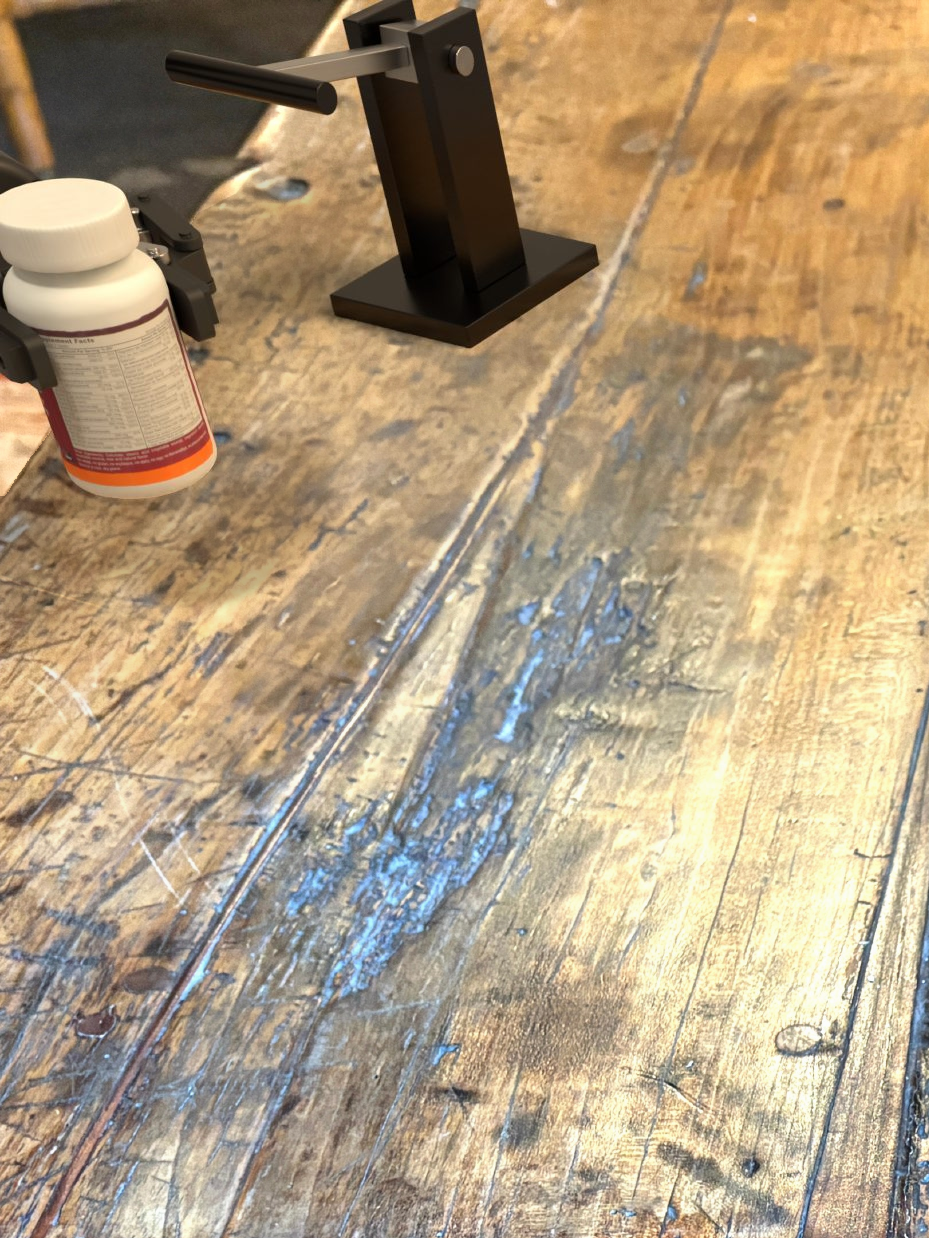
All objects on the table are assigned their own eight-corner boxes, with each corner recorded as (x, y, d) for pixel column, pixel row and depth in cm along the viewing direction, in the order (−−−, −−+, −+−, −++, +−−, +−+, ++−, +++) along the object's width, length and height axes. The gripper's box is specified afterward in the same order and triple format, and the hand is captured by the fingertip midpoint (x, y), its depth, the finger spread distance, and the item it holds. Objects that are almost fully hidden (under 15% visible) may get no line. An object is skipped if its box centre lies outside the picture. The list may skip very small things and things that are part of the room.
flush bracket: (471, 351, 118) (407, 65, 108) (334, 318, 121) (259, 35, 110) (600, 267, 126) (552, -7, 116) (469, 237, 128) (410, -34, 118)
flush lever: (320, 128, 104) (312, 72, 103) (169, 95, 107) (159, 40, 105) (509, 88, 115) (504, 36, 114) (367, 59, 117) (361, 8, 116)
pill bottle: (85, 438, 97) (-10, 172, 89) (231, 432, 98) (150, 169, 90) (57, 508, 93) (-46, 236, 85) (210, 501, 94) (123, 231, 86)
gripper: (-267, 167, 91) (-89, 299, 83) (70, 85, 99) (262, 200, 91) (-189, 345, 97) (-15, 484, 89) (124, 255, 104) (310, 377, 96)
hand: (124, 340), depth 90 cm, fingers closed on pill bottle, 6 cm apart
